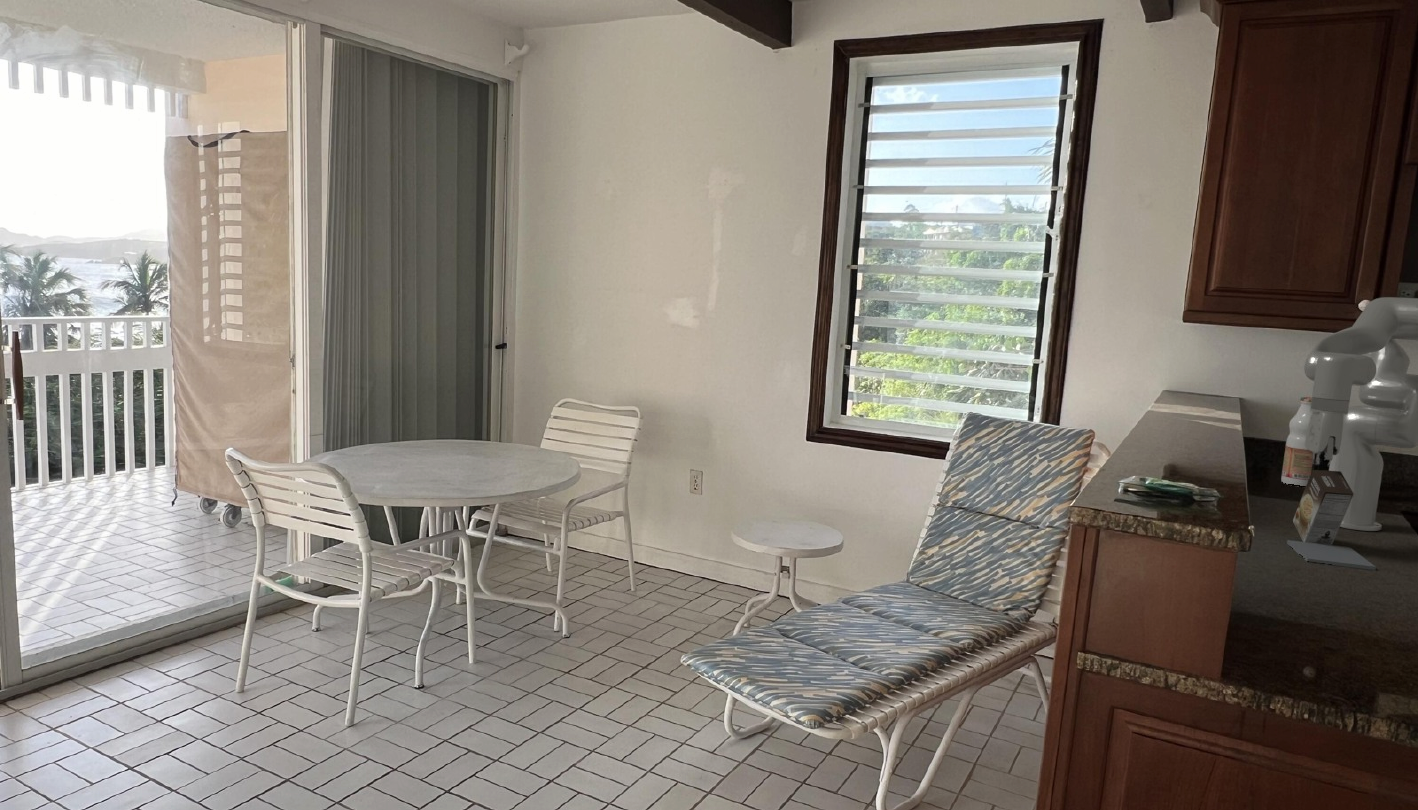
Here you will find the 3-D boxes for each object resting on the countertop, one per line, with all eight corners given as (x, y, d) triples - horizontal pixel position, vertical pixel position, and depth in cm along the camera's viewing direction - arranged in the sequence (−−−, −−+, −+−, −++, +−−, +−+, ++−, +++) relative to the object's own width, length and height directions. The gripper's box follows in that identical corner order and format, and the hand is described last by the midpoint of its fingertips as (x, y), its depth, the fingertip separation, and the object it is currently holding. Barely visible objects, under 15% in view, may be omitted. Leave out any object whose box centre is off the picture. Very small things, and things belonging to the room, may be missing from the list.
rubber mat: (1286, 543, 218) (1287, 540, 218) (1349, 550, 214) (1350, 547, 214) (1307, 562, 203) (1307, 558, 203) (1375, 570, 199) (1375, 566, 199)
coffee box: (1291, 520, 225) (1311, 468, 217) (1319, 523, 224) (1340, 470, 216) (1303, 544, 218) (1324, 491, 209) (1333, 547, 217) (1355, 493, 208)
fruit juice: (1273, 481, 294) (1285, 395, 290) (1297, 481, 296) (1309, 396, 292) (1298, 487, 285) (1310, 399, 281) (1322, 487, 287) (1335, 400, 283)
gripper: (1302, 401, 225) (1291, 474, 227) (1321, 408, 211) (1310, 485, 213) (1337, 404, 223) (1326, 477, 225) (1359, 411, 209) (1347, 489, 211)
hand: (1318, 481), depth 219 cm, fingers closed
